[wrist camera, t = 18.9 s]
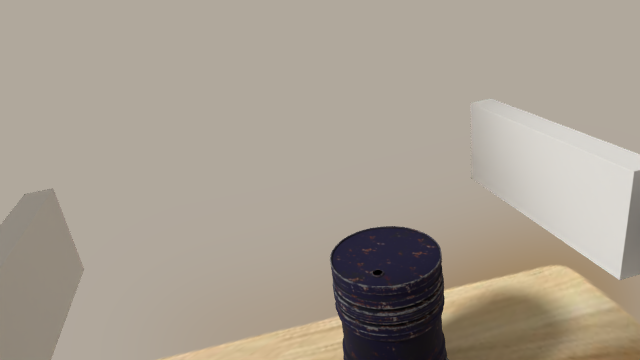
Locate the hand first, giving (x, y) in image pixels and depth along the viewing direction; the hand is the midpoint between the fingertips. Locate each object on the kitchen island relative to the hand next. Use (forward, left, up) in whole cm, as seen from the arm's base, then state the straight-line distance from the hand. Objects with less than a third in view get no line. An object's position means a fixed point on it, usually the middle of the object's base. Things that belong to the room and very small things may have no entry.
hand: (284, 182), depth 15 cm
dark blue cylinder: (+11, +20, -33) cm, 40 cm away
